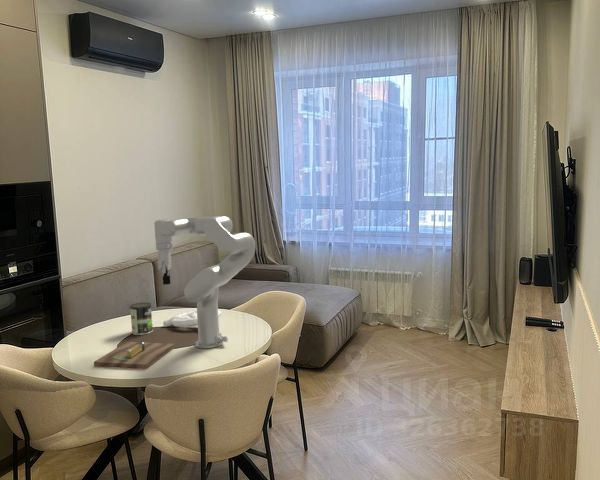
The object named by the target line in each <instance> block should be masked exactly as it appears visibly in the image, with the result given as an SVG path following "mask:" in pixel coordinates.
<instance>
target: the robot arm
mask: <svg viewBox="0 0 600 480" xmlns="http://www.w3.org/2000/svg"><path fill="white" fill-rule="evenodd" d="M233 226H234V225H233V222H232V220H231V218H230V217H228V216H224V215H219V216H218V215H215V216H198V217H183V218H176V219H170V220H169V219H157V220H155V221H154V237H155V238H154V239H155V249H156V251H157V267H158V272H160V271H161V272H162V284H163V285H171V275H170V273H171V272H170V269H172V252H171V250H173V237H178V236H181V235H183V236H184V235H188V234H189V235H190V234H197V235H198V236H199V237H201V236H202V237H207V238H208V239H209V240H210V241H211V242H212V243H213V244H214V245H215V246H216V247H217V248H218V249H219V250H220V251H221V252H223V253H224V254H225V255H227V256H226V257H225V258H224V259H223V260H222V261H220V262H219V263H218V264H214V265H212V266H208V267H206V268H204V269H203V270H201V271H199V273H197V274H196V275H195V276H194V277H193V278H191V279H190V280H189V281H188V282H187V284H185V287H184V289H183V293H184V297H185V299H186V300H187V301H189V302H190V303H197V304H196V310H197V320H198V324H197V333H198V334H197V335H198V340H197V341H195V347H197V348H199V349H213V348H218V347H220V346H222V345H223V344H224V343H227V342H228V341H229V339H228V338H229V337H228V336H227V335H226V336H223V335H222V332H220V325H219V317H218V310H219V304H218V303H219V302H218V300H219V291H220V290H219V289H220V287H222V286H223V285H226V284H227V283H228V282H229V281H231V279H232V278H234V277H235V276H237V275H238V274H239V272H240V271H242V270H243V269H244V268H245V267H246V266H248V265H249V264H250V262H251V261H252V260H253V258H254V255H255V253H256V241H255V238H254V237H253V235H252V234H250V233H248V232H237V233H232V234H231V233H230V232H231V231H232V230H233Z"/></svg>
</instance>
